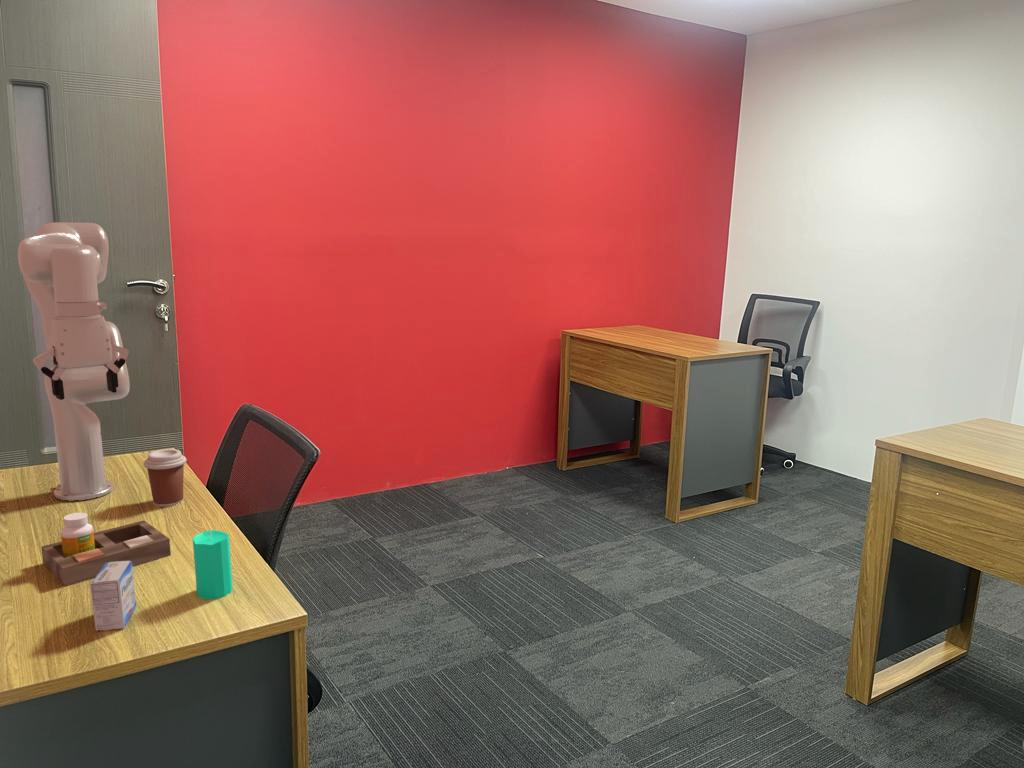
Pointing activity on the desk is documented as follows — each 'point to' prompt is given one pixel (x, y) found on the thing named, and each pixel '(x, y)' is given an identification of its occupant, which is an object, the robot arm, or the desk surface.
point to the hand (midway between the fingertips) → (86, 394)
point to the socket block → (107, 552)
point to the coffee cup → (166, 476)
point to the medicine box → (113, 595)
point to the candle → (212, 564)
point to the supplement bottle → (77, 534)
